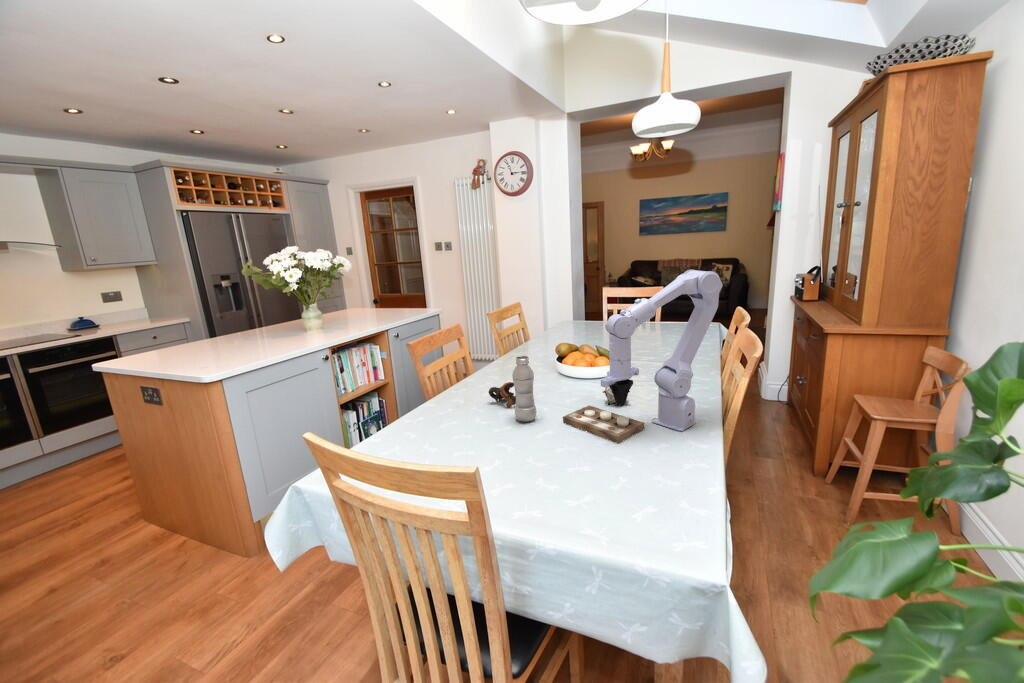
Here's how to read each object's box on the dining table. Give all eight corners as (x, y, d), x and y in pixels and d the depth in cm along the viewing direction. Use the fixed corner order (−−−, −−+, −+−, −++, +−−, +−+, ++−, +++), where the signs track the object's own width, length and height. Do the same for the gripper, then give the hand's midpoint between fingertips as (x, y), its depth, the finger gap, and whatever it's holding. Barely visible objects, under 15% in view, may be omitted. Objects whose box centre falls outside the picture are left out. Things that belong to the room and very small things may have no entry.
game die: (619, 416, 143) (621, 399, 135) (596, 402, 147) (597, 386, 139) (633, 396, 147) (635, 379, 139) (611, 384, 151) (612, 367, 143)
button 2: (630, 425, 123) (630, 418, 123) (624, 428, 121) (624, 422, 121) (621, 422, 125) (621, 415, 125) (614, 425, 123) (614, 418, 123)
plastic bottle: (535, 424, 131) (531, 360, 127) (513, 424, 133) (509, 360, 128) (538, 416, 137) (535, 354, 133) (517, 415, 139) (513, 354, 134)
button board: (644, 429, 123) (644, 421, 123) (618, 443, 116) (618, 435, 115) (589, 411, 138) (589, 404, 138) (563, 422, 131) (562, 415, 131)
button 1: (597, 417, 132) (597, 411, 132) (590, 421, 130) (590, 414, 130) (589, 415, 135) (589, 409, 134) (582, 418, 133) (582, 412, 132)
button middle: (613, 419, 128) (613, 413, 127) (606, 422, 126) (606, 416, 125) (604, 416, 130) (604, 410, 130) (597, 419, 128) (597, 413, 128)
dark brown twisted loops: (520, 397, 156) (525, 381, 151) (519, 418, 149) (525, 402, 143) (487, 391, 155) (491, 375, 150) (485, 412, 147) (489, 395, 142)
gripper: (624, 350, 127) (624, 394, 130) (591, 361, 118) (592, 408, 121) (645, 354, 122) (645, 400, 125) (612, 366, 113) (613, 415, 116)
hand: (620, 405), depth 123 cm, fingers closed
